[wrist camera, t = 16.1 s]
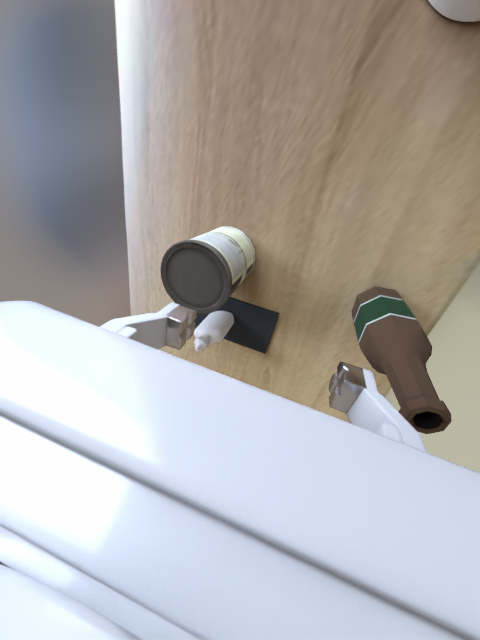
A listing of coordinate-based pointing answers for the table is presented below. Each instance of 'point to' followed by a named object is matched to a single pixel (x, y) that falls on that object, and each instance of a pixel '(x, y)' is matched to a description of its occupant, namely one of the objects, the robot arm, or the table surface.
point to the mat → (247, 324)
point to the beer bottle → (400, 356)
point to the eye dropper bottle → (212, 329)
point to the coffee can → (207, 268)
